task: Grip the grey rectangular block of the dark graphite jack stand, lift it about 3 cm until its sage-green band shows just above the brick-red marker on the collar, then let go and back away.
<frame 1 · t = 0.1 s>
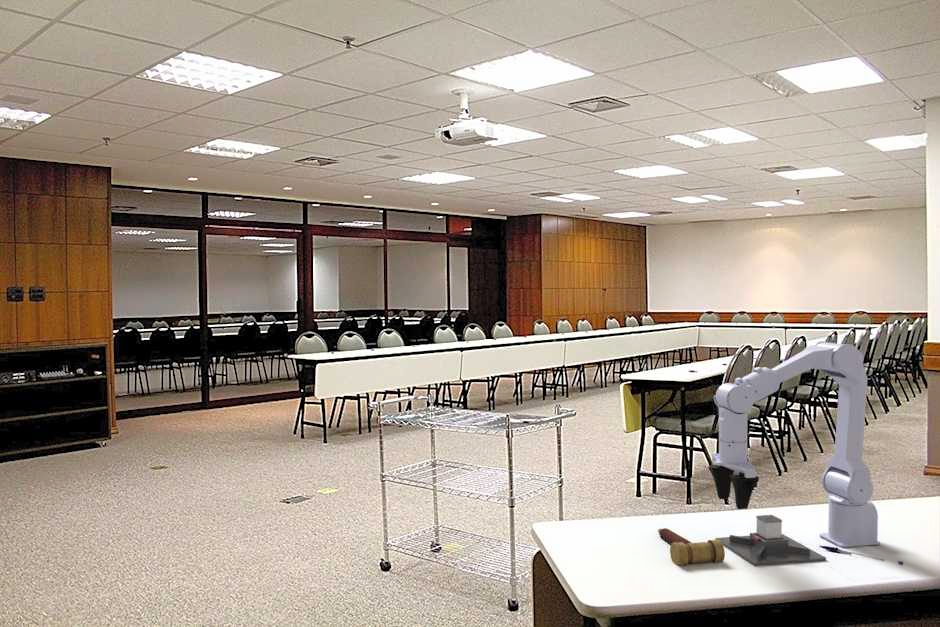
hand: (732, 503, 168), 10 cm above the table, tool pointing down, fingers open, 7 cm apart
gavel: (679, 551, 169), on the table
stand base: (768, 550, 167), on the table
grey rectangular block: (768, 532, 167), point 4 cm above the table, slide at 0.0 cm, touching stand base
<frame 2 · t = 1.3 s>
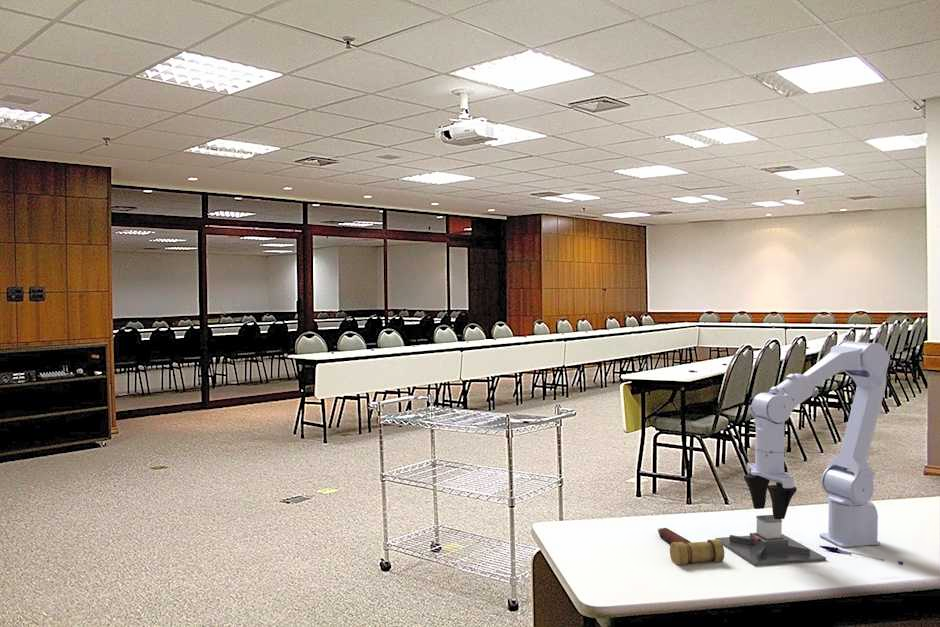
hand: (768, 513, 167), 8 cm above the table, tool pointing down, fingers open, 7 cm apart
nothing on the table moved.
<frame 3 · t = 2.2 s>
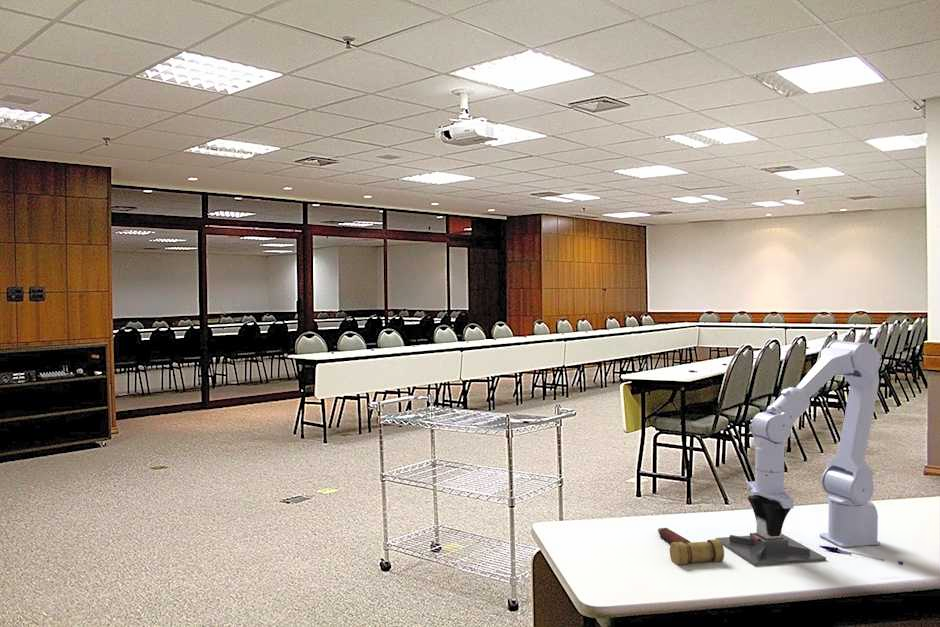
hand: (768, 532, 167), 4 cm above the table, tool pointing down, fingers closed on grey rectangular block, 4 cm apart
grey rectangular block: (768, 532, 167), point 4 cm above the table, slide at 0.0 cm, touching gripper, stand base
everything else where it was.
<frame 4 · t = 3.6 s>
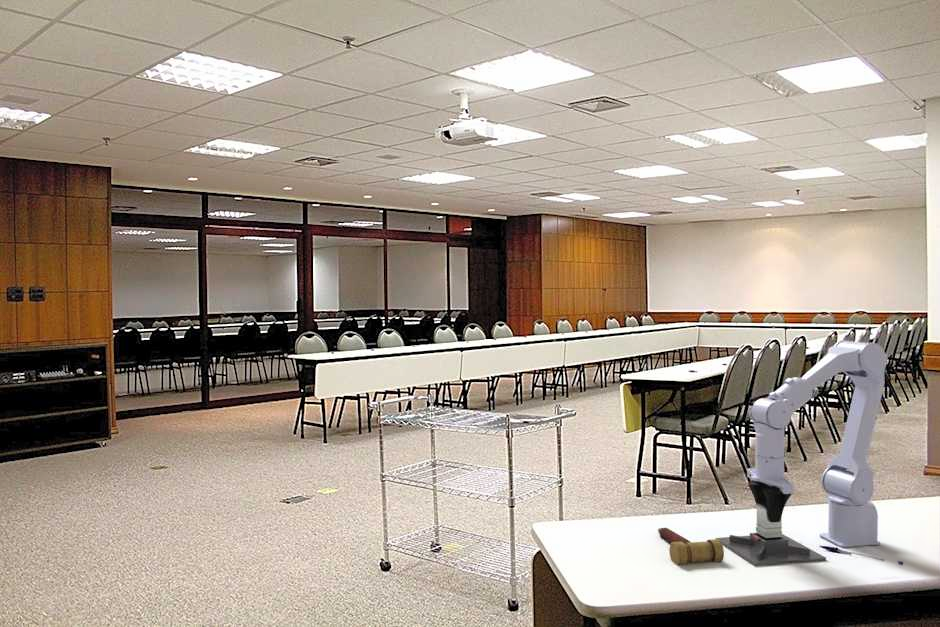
hand: (769, 518, 167), 7 cm above the table, tool pointing down, fingers closed on grey rectangular block, 3 cm apart
grey rectangular block: (769, 519, 167), point 7 cm above the table, slide at 2.7 cm, touching gripper
everything else where it was.
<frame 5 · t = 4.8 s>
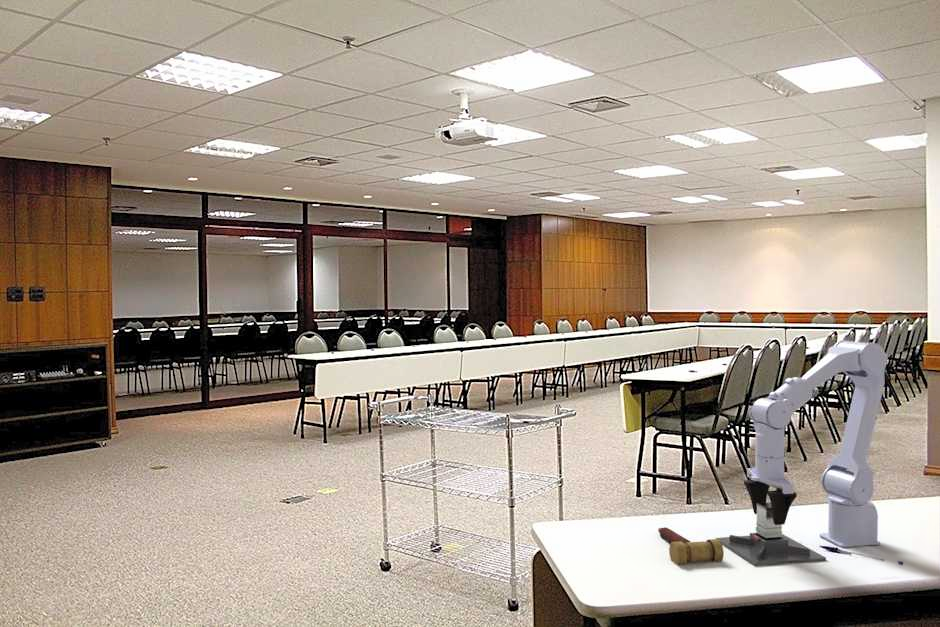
hand: (769, 518, 167), 7 cm above the table, tool pointing down, fingers open, 7 cm apart
grey rectangular block: (769, 519, 167), point 7 cm above the table, slide at 2.7 cm
everything else where it was.
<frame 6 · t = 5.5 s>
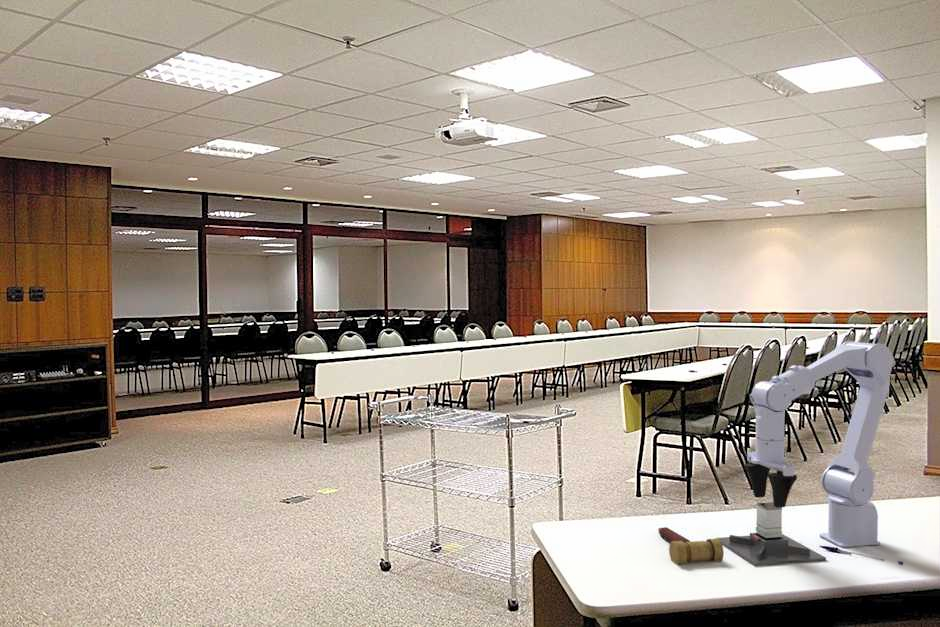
hand: (769, 501, 167), 10 cm above the table, tool pointing down, fingers open, 7 cm apart
nothing on the table moved.
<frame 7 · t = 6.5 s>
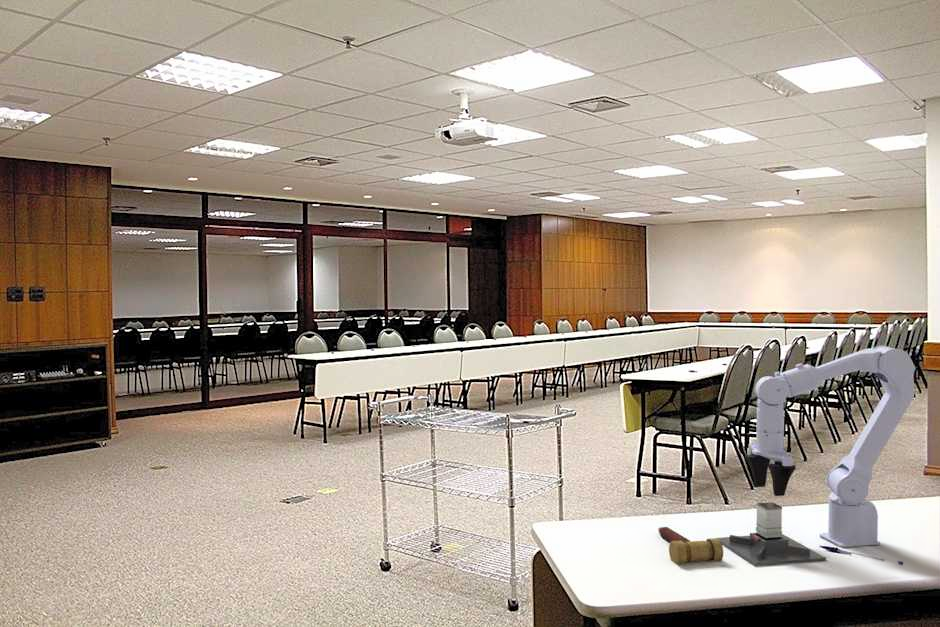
hand: (769, 490, 176), 10 cm above the table, tool pointing down, fingers open, 7 cm apart
nothing on the table moved.
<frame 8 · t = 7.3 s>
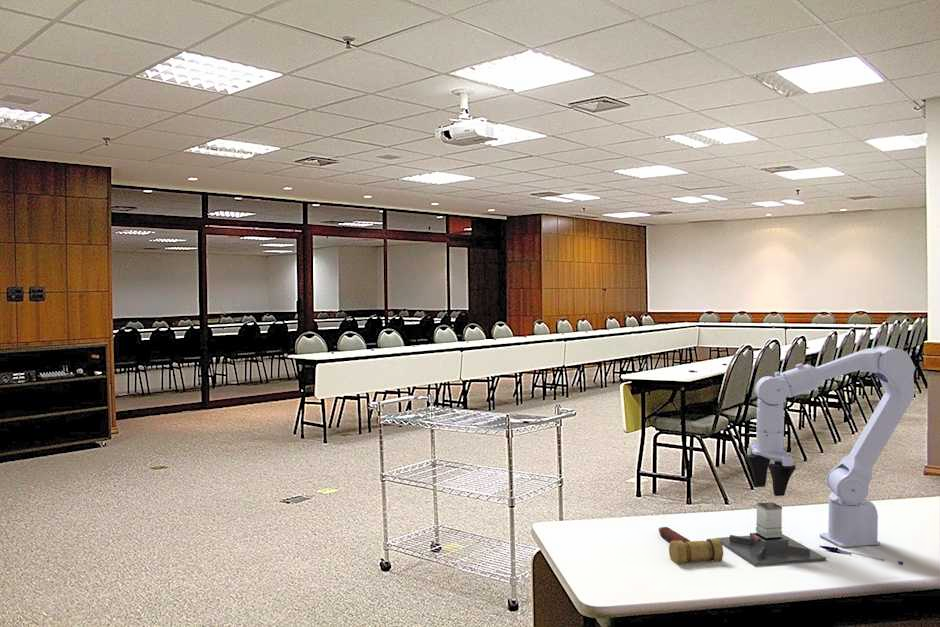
hand: (769, 490, 176), 10 cm above the table, tool pointing down, fingers open, 7 cm apart
at the end: grey rectangular block slide at 2.7 cm; the gripper is holding nothing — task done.
